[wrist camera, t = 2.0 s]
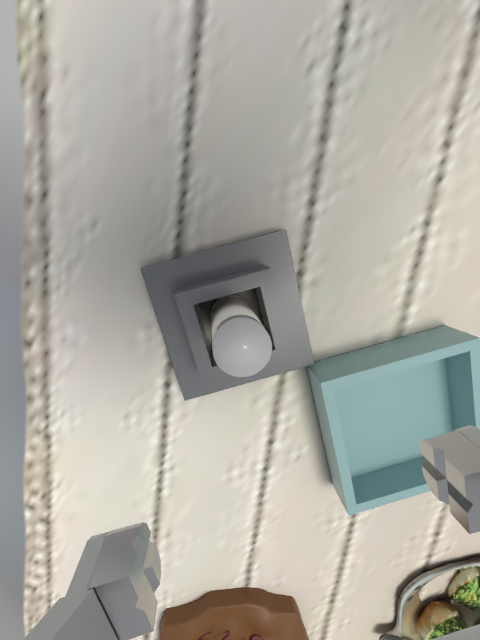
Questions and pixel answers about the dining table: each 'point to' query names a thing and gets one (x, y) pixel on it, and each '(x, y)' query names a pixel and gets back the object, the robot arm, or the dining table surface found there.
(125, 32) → the dining table surface
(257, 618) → the plant
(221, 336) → the cylinder
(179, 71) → the dining table surface
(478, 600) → the salad plate
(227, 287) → the grey square socket
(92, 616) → the robot arm
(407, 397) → the parts tray
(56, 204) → the dining table surface
